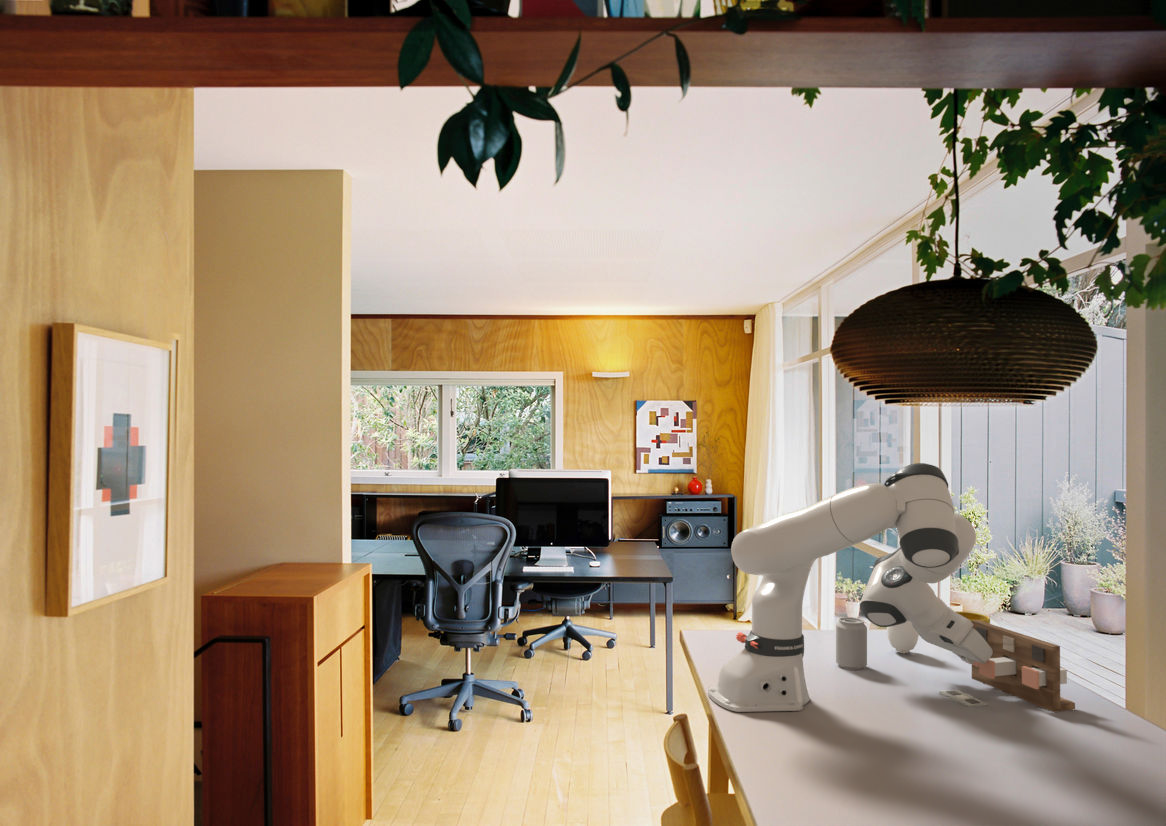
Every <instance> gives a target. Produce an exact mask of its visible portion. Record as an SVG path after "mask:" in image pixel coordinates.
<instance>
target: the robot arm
mask: <svg viewBox="0 0 1166 826" xmlns="http://www.w3.org/2000/svg"><path fill="white" fill-rule="evenodd" d="M893 528H894V529H895V528H896V529H897V534H898V537H899V547H898V549H896V550H895V551H894V552H892V553H891V552H890V553H888V554H886V555H882V556H880V557H878V558H877V559H875V561H874V563H873V567H872V570H871V574H870V576H869V579H868V582H867V583H866V587H865V589H864V592H863V594H862V597H861V599H860V602H859V609H860V611H861V614H862V615H863V616H864V617H865V618H866V620H868V621H869V622H870V623H872V625H875V626H877V627H879V628H887V627H890V626H895V625H899V624H902V623H905V622H906V621H910V622H911V623H912V626H913V628H914V629H915V630H916V632H917V633H918V634H919V637H920V638H921V639H922V640H923V641H924V642H927V643H928V644H931V645H934V646H936V647H939V648H941V649H943V650H946V651H949V652H952V654H954V655H956V656H957V657H958V658H960V660H961V661H963V662H965V663H966V662H968V663H967V664H969V663H970V664H969V665H971V664H973V663H974V662H975V661H977V662H980V663H982V664H985V663H986V662H987V661H988V660H989V659H990V657H991V656H992V654H993V651H992V649H991V647H990V646H989V645H988V643H987V642H986V641H985V640H984V638H983V637H982V636H981V635H980V634H979V633H978V632H977V631H976V630H975V629H973V628H972V627H973V623H972V622H971V621H970V620H969V619H967V618H965V617H963V616H961V615H960V614H958V613H956V612H955V611H956V610H953V609H952V608H951V607H950V606H948V605H947V604H946V603H945V602H944V601H943V600H942V599H941V598H940V597H938V596H937V595H936V594H935V591H934V590H933V588H932V587H931V586H930V585H929V584H937V583H940V582H941V581H943V580H946V579H947V578H948V577H949V576H951V575H952V574H953V573H955V571H956V570H957V569H958V568H959V567H960V566H961V565H962V564H963V563H964V562H965V560H966V559H967V558H968V557H969V555H970V554H971V552H972V550H973V549H974V546H975V545H976V542H977V533H976V529H975V528H974V526H973V525H972V523H971V522H970V521H969V519H967V518H966V517H964V516H963V515H960V514H959V513H956V512H955V508H954V503H953V499H952V495H951V493H950V490H949V483H948V480H947V478H946V476H945V474H944V472H943V471H942V470H941V469H940V468H939V467H938V466H936V465H933V464H930V463H926V462H925V463H923V462H918V463H917V462H916V463H912V464H908V465H906V466H904V467H901V469H898V470H897V471H895V472H894V473H893V474H891V475H890V476H889V477H887V479H885V482H884V484H883V483H881V482H880V483H879V482H872V483H871V482H870V483H866V484H865V483H864V484H862V485H856V486H853V487H851V488H848V489H845V490H841V491H839V492H837V493H836V494H832V495H831V496H828V497H827V498H824V499H821V500H819V501H818V502H815V503H813V504H811V505H809V506H806V507H803V508H800V509H798V510H795V511H792V512H790V513H789V512H788V513H786V514H783V515H780V516H777V517H775V518H772V519H769V520H766V521H765V522H762V523H761V522H760V523H759V524H756V525H753V526H751V527H748V528H747V529H744V530H742V531H741V532H739V533H737V534H736V535H735V536H734V538H733V541H732V542H731V547H730V550H731V551H730V552H731V553H730V554H731V559H732V560H733V563H734V565H735V566H736V567H737V568H738V569H739V570H740V571H741V572H742V573H745V574H747V575H753V576H762V580H761V582H760V583H759V586H758V587H757V589H756V590H755V592H754V593H753V595H752V599H751V630H750V632H749V633H748V635H746V634H745V633H743V632H740V631H739V632H737V634H736V636H735V638H736V639H735V640H737V641H738V642H740V643H741V644H745V645H744V648H743V649H742V650H740V652H738V653H737V654H736V655H735V656H734V657H733V658H731V659H730V660H728V661H727V662H726V663H724V664H723V665H722V666H721V668H720V671H719V675H718V681H717V685H713V686H710V687H708V690H707V695H708V697H709V698H710V699H711V700H712V701H713V702H714V703H715V704H717V705H719V706H720V707H722V708H724V709H726V710H728V711H732V712H737V713H741V712H742V713H745V712H749V713H750V712H751V713H752V712H788V711H789V712H790V711H791V712H793V711H794V712H795V711H796V712H797V711H802V710H803V709H804V706H805V705H806V704H807V703H809V701H810V695H809V691H808V687H807V683H806V677H805V672H804V671H805V670H804V669H805V668H804V655H805V636H804V634H803V602H804V596H805V590H806V586H807V583H808V579H809V576H810V572H811V570H812V567H813V565H814V563H815V562H816V560H818V559H819V558H822V557H827V556H829V555H832V554H835V553H837V552H839V551H842V550H845V549H848V548H850V547H852V546H855V545H857V544H860V543H864V542H865V541H868V540H870V539H871V538H873V537H876V536H877V535H879V534H881V533H882V532H884V531H886V530H887V529H893Z"/></svg>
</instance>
